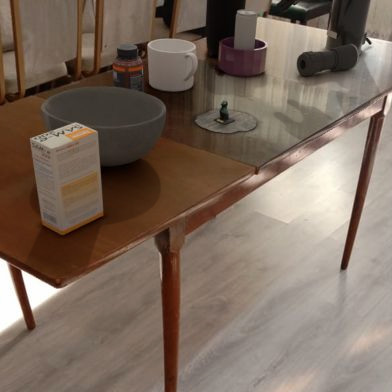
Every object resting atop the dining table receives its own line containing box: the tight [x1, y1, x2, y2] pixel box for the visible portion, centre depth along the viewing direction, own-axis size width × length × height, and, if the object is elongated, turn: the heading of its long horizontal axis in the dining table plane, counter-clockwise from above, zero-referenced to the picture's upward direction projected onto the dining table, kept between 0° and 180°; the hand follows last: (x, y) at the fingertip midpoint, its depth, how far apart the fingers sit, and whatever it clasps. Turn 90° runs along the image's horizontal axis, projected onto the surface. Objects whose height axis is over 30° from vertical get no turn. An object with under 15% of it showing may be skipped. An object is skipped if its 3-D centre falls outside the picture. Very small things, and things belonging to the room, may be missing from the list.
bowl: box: [40, 85, 167, 167], centre depth 105 cm, size 20×20×10 cm
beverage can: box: [234, 9, 258, 50], centre depth 145 cm, size 5×5×12 cm
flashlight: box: [296, 44, 360, 77], centre depth 150 cm, size 15×5×5 cm, turn 121°
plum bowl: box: [217, 37, 269, 78], centre depth 148 cm, size 11×11×6 cm
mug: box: [146, 38, 199, 93], centre depth 136 cm, size 13×10×8 cm
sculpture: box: [194, 100, 258, 134], centre depth 124 cm, size 12×9×8 cm
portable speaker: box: [204, 0, 247, 58], centre depth 152 cm, size 9×9×20 cm
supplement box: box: [29, 123, 104, 236], centre depth 88 cm, size 8×5×13 cm, turn 139°
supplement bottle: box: [112, 43, 144, 93], centre depth 125 cm, size 6×6×11 cm
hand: (285, 5), depth 137 cm, fingers open, 8 cm apart
